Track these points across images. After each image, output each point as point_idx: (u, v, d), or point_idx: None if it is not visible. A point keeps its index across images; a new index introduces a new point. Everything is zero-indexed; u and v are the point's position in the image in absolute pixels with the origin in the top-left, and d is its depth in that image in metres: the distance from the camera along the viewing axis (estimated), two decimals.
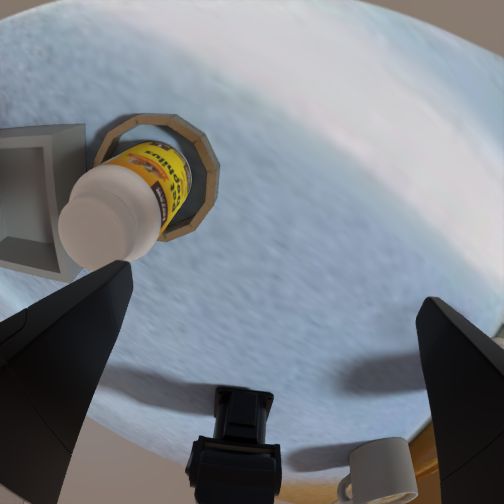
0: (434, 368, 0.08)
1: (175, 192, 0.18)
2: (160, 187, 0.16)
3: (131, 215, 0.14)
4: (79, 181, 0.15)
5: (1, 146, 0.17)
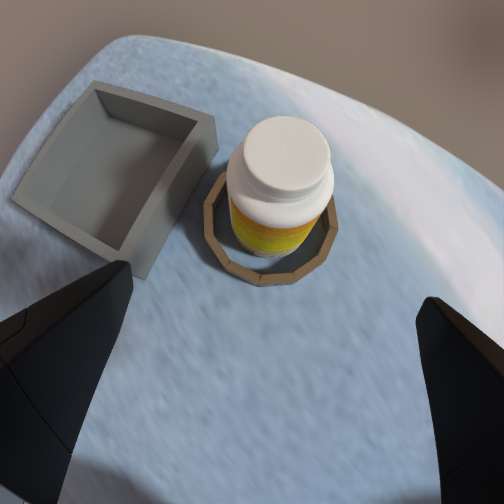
0: (434, 368, 0.08)
1: None
2: None
3: None
4: None
5: (146, 102, 0.21)
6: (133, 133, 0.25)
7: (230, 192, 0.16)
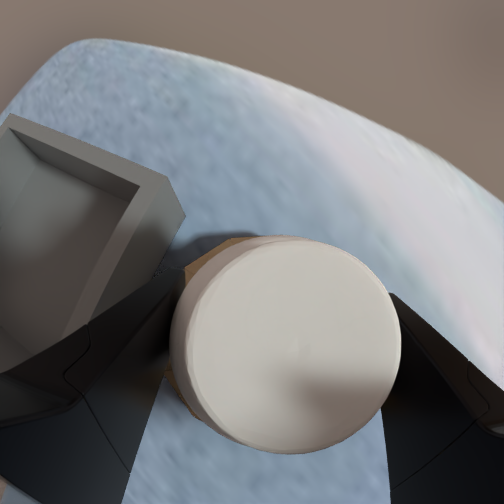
0: None
1: None
2: None
3: None
4: (255, 240, 0.08)
5: (68, 149, 0.12)
6: (66, 188, 0.16)
7: (178, 384, 0.07)
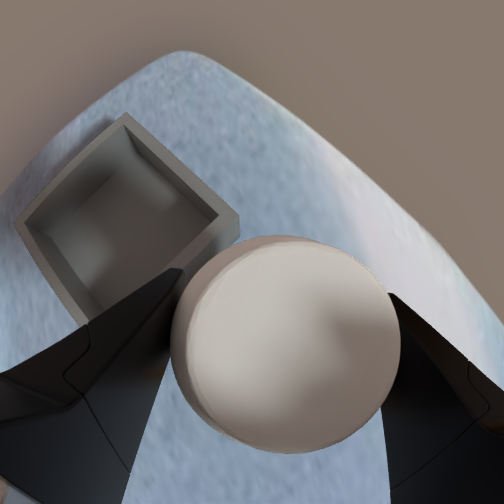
0: None
1: None
2: None
3: None
4: (256, 240, 0.08)
5: (172, 166, 0.19)
6: (156, 184, 0.23)
7: None
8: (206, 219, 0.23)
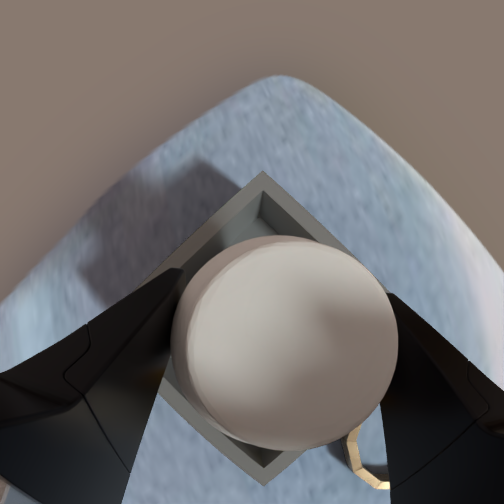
0: None
1: None
2: None
3: None
4: (256, 240, 0.08)
5: None
6: None
7: (179, 382, 0.07)
8: None
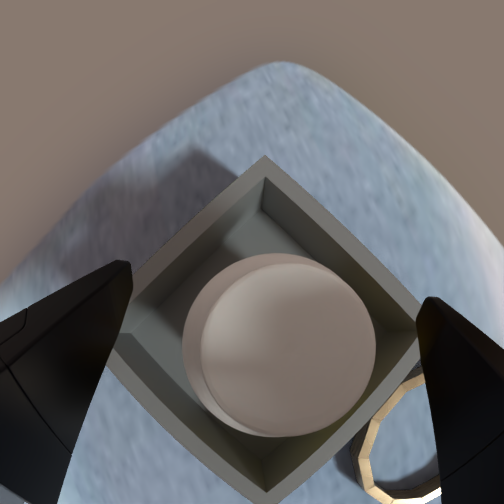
0: (434, 368, 0.08)
1: None
2: None
3: None
4: (257, 258, 0.09)
5: (358, 258, 0.14)
6: None
7: (189, 380, 0.09)
8: None
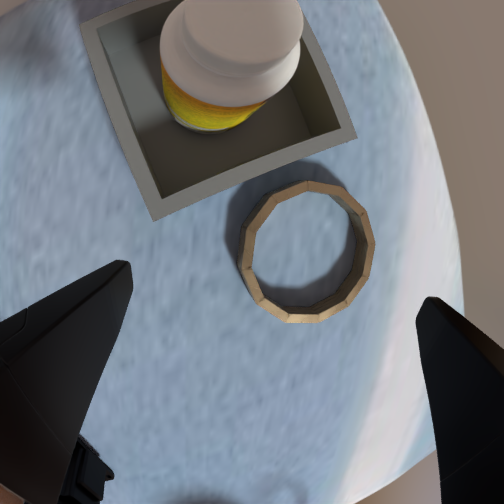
0: (434, 368, 0.08)
1: None
2: None
3: None
4: None
5: (312, 53, 0.15)
6: None
7: (160, 38, 0.10)
8: (300, 113, 0.19)
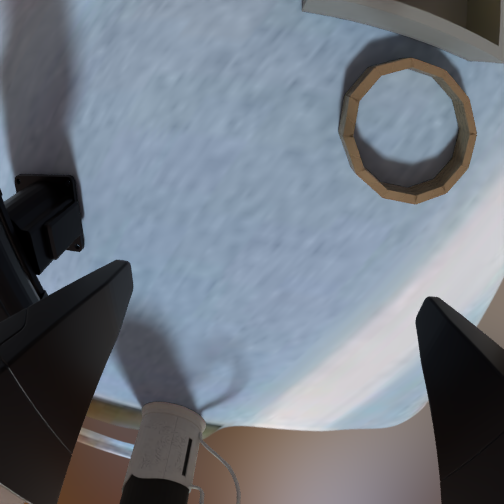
0: (434, 368, 0.08)
1: None
2: None
3: None
4: None
5: None
6: None
7: None
8: (465, 24, 0.13)
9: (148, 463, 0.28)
